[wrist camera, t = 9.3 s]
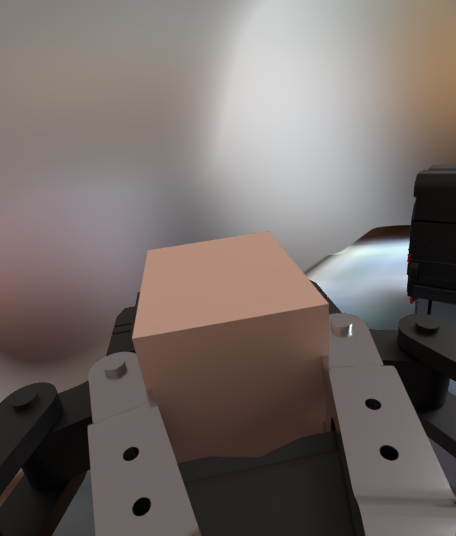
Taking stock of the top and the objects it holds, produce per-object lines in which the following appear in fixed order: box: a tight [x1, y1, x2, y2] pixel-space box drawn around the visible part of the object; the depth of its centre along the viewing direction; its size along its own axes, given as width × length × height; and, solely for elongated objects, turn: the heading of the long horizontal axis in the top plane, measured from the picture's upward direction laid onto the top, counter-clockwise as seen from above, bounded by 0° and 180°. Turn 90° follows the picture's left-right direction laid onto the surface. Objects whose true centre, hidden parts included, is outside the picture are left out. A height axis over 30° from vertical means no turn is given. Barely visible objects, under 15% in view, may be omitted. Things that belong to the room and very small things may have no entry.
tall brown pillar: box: [132, 231, 329, 463], centre depth 12 cm, size 5×4×14 cm
